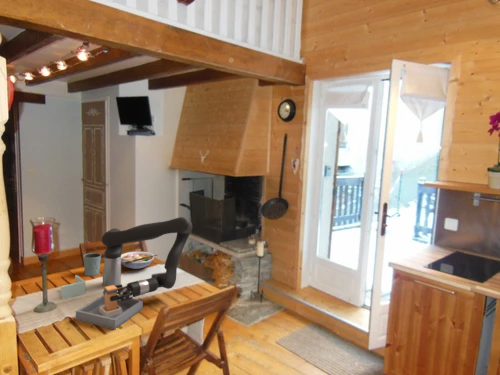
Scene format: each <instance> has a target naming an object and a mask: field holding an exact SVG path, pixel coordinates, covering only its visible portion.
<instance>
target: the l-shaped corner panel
mask: <svg viewBox="0 0 500 375" xmlns="http://www.w3.org/2000/svg"><path fill="white" fill-rule="evenodd" d="M74 278H75V279H74V281H75V282H74V283H70V284H66V285H62V286H61V288H60V289H61V300H64V299H69V298H73V297H77V296H80V295H85V294H86V281H85V280H84V279H83V278H81V277H80V276H79V275H78V274H75V275H74Z"/></svg>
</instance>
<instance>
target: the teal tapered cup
mask: <svg viewBox="0 0 500 375" xmlns="http://www.w3.org/2000/svg"><path fill="white" fill-rule="evenodd" d="M101 257H102V254H101V253H98V252H89V253H86V254H84V255H83V263H84V264H83V268H84V271H83V272H84V276H86V277H94V276H97V275H100V270H101V269H100V268H101V259H102V258H101Z"/></svg>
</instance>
